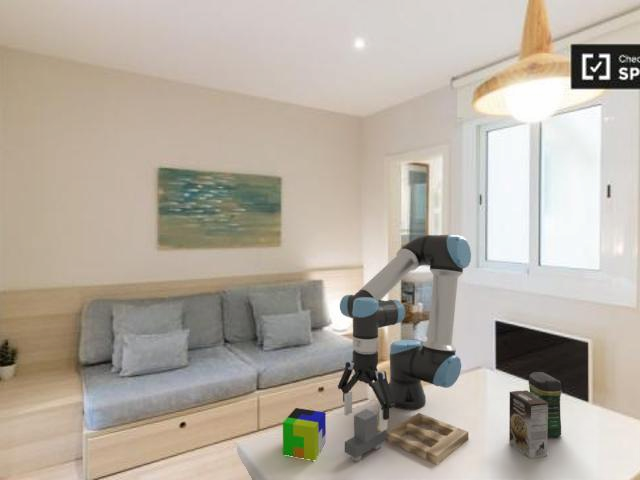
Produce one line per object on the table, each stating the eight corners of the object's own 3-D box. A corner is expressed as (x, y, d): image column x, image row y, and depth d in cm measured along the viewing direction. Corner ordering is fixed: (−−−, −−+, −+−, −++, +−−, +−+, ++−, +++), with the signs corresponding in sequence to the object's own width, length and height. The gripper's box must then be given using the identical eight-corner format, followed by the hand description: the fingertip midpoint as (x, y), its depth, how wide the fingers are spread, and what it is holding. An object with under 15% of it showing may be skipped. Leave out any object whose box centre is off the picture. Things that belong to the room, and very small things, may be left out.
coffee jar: (566, 438, 125) (566, 380, 125) (542, 439, 125) (542, 381, 124) (546, 423, 135) (547, 369, 134) (524, 424, 135) (524, 370, 134)
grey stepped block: (344, 458, 116) (344, 419, 115) (375, 440, 125) (374, 404, 125) (356, 465, 112) (355, 425, 112) (386, 446, 122) (386, 409, 122)
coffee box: (508, 442, 123) (508, 391, 123) (526, 440, 125) (526, 389, 124) (529, 459, 114) (529, 404, 114) (548, 456, 116) (548, 401, 115)
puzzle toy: (325, 443, 124) (325, 412, 123) (314, 461, 114) (314, 427, 114) (296, 438, 127) (295, 407, 127) (283, 455, 118) (282, 422, 117)
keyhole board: (385, 440, 125) (385, 432, 125) (418, 419, 138) (418, 412, 138) (436, 464, 112) (436, 455, 112) (468, 439, 125) (468, 431, 125)
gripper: (326, 344, 124) (326, 411, 125) (392, 363, 106) (391, 441, 107) (343, 339, 129) (343, 404, 130) (408, 357, 111) (407, 432, 112)
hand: (365, 421), depth 118 cm, fingers open, 13 cm apart
